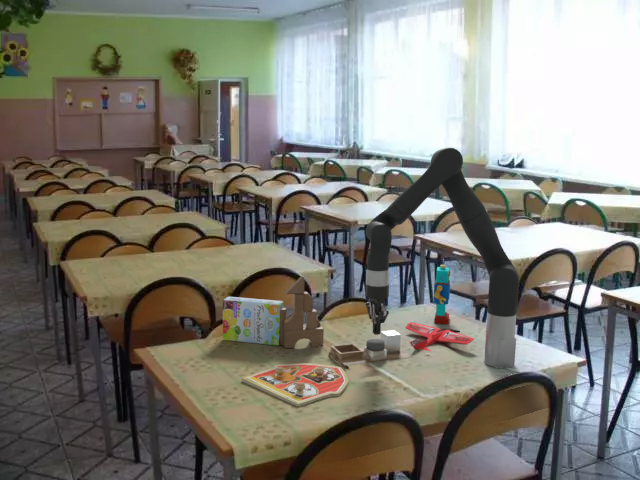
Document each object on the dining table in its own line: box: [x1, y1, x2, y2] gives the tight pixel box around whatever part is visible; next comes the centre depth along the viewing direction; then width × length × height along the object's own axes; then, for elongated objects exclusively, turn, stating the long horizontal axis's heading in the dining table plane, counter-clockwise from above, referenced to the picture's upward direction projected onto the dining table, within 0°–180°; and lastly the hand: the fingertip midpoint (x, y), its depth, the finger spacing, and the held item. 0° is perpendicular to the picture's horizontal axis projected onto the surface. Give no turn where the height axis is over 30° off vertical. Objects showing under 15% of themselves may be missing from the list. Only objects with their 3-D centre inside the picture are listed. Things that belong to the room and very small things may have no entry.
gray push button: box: [365, 338, 385, 351], centre depth 247 cm, size 6×6×5 cm
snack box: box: [222, 296, 284, 346], centre depth 264 cm, size 21×6×15 cm, turn 75°
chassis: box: [328, 342, 413, 370], centre depth 250 cm, size 14×24×4 cm, turn 111°
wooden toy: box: [279, 275, 325, 349], centre depth 260 cm, size 16×7×25 cm, turn 102°
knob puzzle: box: [241, 362, 349, 407], centre depth 228 cm, size 29×30×4 cm
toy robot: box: [433, 258, 451, 325], centre depth 291 cm, size 12×6×25 cm, turn 168°
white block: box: [380, 329, 402, 353], centre depth 254 cm, size 5×5×6 cm
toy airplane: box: [405, 322, 475, 352], centre depth 263 cm, size 27×27×5 cm
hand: (376, 333), depth 245 cm, fingers closed
